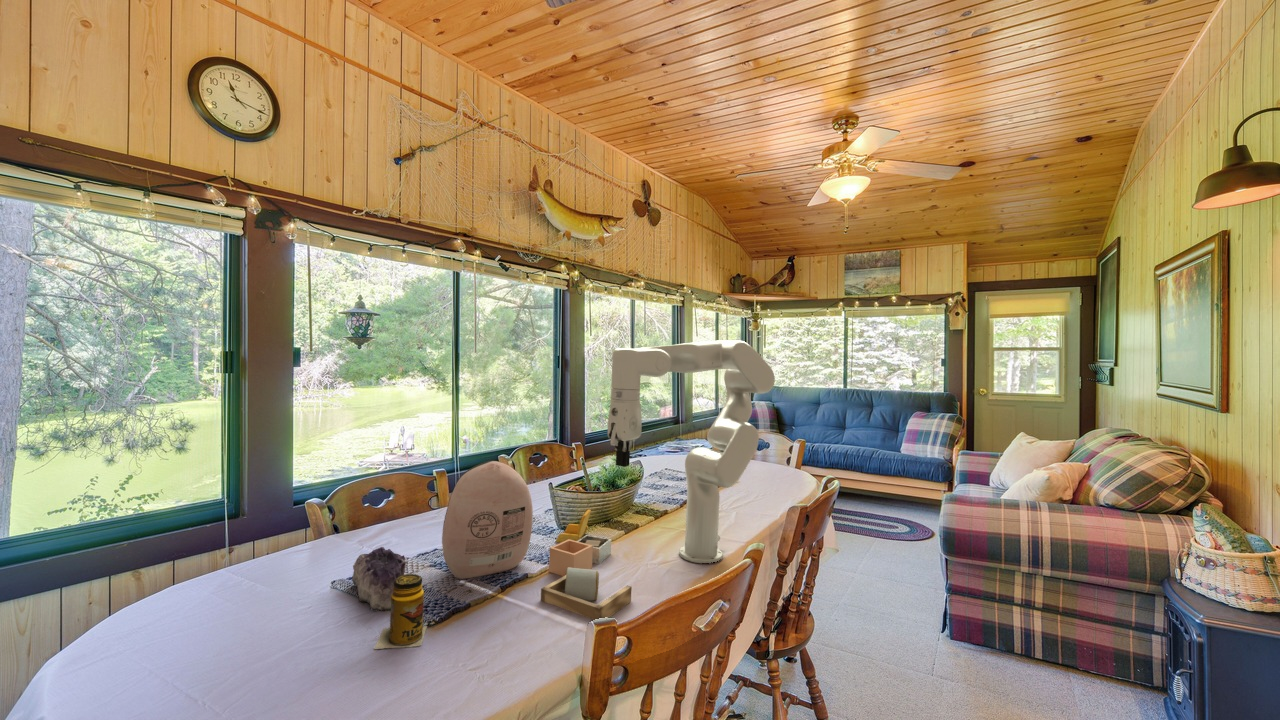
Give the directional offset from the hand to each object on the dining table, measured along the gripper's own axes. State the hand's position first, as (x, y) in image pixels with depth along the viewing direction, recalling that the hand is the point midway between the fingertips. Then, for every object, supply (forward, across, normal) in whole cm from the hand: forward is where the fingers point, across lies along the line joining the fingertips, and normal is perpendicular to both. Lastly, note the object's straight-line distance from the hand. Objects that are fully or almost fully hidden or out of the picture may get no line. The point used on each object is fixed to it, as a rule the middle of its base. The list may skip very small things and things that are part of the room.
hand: (622, 465), depth 139 cm
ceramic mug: (+29, -15, +1) cm, 33 cm away
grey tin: (+29, +5, +12) cm, 32 cm away
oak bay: (+29, -16, -2) cm, 33 cm away
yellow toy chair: (+30, +14, +26) cm, 41 cm away
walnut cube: (+28, +5, +12) cm, 31 cm away
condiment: (+29, -50, +19) cm, 61 cm away
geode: (+30, -40, +40) cm, 64 cm away
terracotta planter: (+29, -6, +11) cm, 32 cm away
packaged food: (+29, -19, +28) cm, 45 cm away
